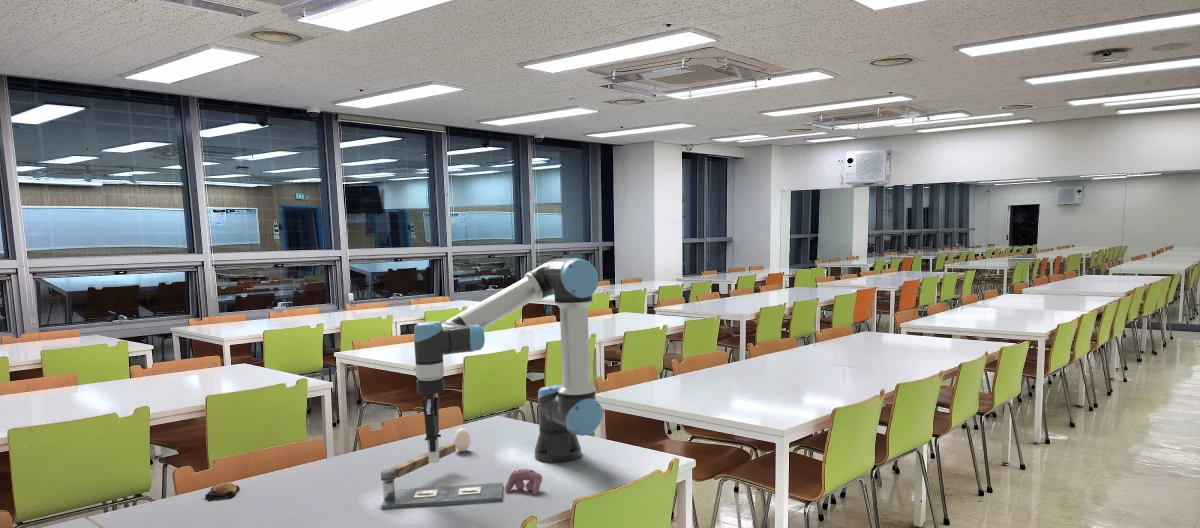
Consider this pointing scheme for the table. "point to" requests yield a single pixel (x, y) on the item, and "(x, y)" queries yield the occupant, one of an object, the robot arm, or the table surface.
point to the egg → (462, 440)
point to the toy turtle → (222, 492)
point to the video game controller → (524, 474)
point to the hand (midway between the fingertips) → (434, 461)
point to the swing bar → (415, 463)
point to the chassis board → (440, 495)
